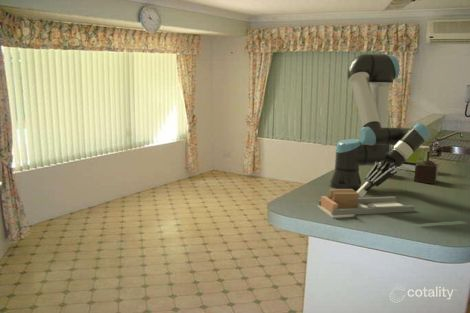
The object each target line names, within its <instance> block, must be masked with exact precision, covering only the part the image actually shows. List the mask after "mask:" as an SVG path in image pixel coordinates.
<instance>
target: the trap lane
mask: <svg viewBox="0 0 470 313" xmlns="http://www.w3.org/2000/svg"><path fill="white" fill-rule="evenodd" d="M337 207H338V204H337V203H335V202H334V201H332V200H331V199H329V198H328V196H326V195H321V196H320V199H318V200H317V208H319V209H320V210H321V211H322V212H324V213H326V214H327V215H328V216H329V217H330V218H333V219H335V218H338V219H339V218H352V217H354V218H356V217H357V215H366V214H368V215H369V214H382V213H383V214H384V213H386V214H387V213H401V212H402V213H403V212H415V211H416V210H415V209H416V206H415V204H414V205H413V204H410V205H409V204H408V205H404V204H402V203H400V202H397V197H396V196H394V195H393V196H375V197H374V196H373V197H370V196H369V197H362V198H361V197H358V208H347V209H337Z"/></svg>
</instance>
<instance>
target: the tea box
mask: <svg viewBox="0 0 470 313" xmlns="http://www.w3.org/2000/svg"><path fill="white" fill-rule="evenodd" d="M427 151H430V152H431V146H428V145H421V146H420V147H419V148H418V149H417V150H416V151H414V152H413V153H412V154H411V155H410V157H409V158H408V159H406V160H405V162H404V163H403V164H402V165H401V166H400V167H397V169H399V170H406V171H411V172H415V166H416V164H417V163H419V162H423V161H426V160H427Z"/></svg>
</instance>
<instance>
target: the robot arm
mask: <svg viewBox="0 0 470 313" xmlns="http://www.w3.org/2000/svg"><path fill="white" fill-rule="evenodd" d="M346 74H347V80H348V83H349V85H351V87H352V92H353V95H354V98H355V103H356V106H357V110H358V115H359V118H360V121H361V126H362V127H361V128H360V130H359V133H358V134H359V135H358V137H359V139H358V138H357V139H356V138H354V139H353V138H348V139H342V140H339V141H338V142H336V143H337V144H336V148H335V160H334V161H335V164H334V171H333V173H332V175H331V178H330V183H329V186H330V187H333V189H353V190H355V191H356V192H357V193H359V197H358V198H363V197H364V196H365V195H366V194H367V192H369V191H370V190H371V189H372V188H373V187H379V186H381V185H382V184H383V183H384V182H385V181H387V180H388V179H390V178H391V177H392V176H393V175H395V174H397V172H398V171H397V170H396V168H398V167H400V166H401V165H402V164H403V163H404V162H405V160H406V159H408V158H409V157H410V155H411V154H412V153H413V152H414V151H416V150H417V149H418V148H419V147H420V146H423V144H424V143H425V142H426V141H427V140H428V139H429V137H430V136H431V130H430V128H428V127H427V126H426V125H425V124H424V123H422V122H416V123H415V124H413V125H412V126H411V127H398V126H396V127H387V118H388V107H389V106H388V105H389V96H390V95H389V94H390V87H391V86H392V85H393V84H394V80H396V79H397V78H398V77H399V75H400V64H399V60H398V59H397V57H396V56H395V55H393V54H385V53H384V54H382V53H381V54H378V53H374V54H373V53H361V54H359V55H357V56H356V57H354V58H353V60H352V61H351V62H350V63H349V66H348V69H347V73H346ZM361 166H362V167H365V166H366V167H368V166H371V169H370V171H369V172H368V173H367V174H366V176H365V178H364V179H365V182H364V183H363V184H362V179H361V176H360V167H361Z"/></svg>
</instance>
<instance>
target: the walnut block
mask: <svg viewBox="0 0 470 313" xmlns="http://www.w3.org/2000/svg"><path fill="white" fill-rule="evenodd" d="M356 191H357V190H353V189H338V188H328V196H327V197H328V198H329V199H331V200H332V201H334V202H335V203H337V204H338V207H337V209H347V208H358V198H360V197H359V193H357V192H356Z"/></svg>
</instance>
